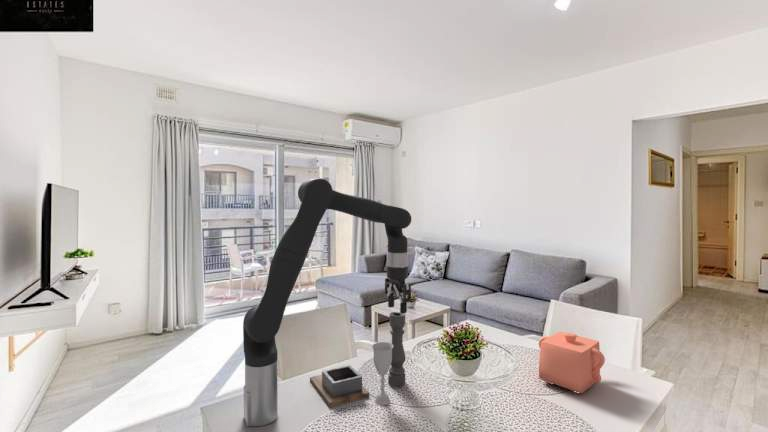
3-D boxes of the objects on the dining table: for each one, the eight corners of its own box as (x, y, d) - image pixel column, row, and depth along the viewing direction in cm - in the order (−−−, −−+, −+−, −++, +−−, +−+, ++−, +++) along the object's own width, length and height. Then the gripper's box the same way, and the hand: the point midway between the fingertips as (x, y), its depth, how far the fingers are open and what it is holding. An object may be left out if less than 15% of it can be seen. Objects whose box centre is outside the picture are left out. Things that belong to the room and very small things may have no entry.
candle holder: (404, 388, 132) (404, 317, 131) (386, 386, 133) (387, 316, 132) (406, 380, 138) (407, 312, 137) (389, 378, 139) (390, 311, 138)
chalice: (380, 393, 128) (380, 340, 128) (397, 399, 124) (397, 345, 124) (367, 402, 122) (367, 347, 122) (384, 408, 118) (384, 352, 118)
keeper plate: (329, 407, 119) (329, 402, 119) (309, 381, 137) (309, 377, 136) (369, 396, 126) (369, 392, 126) (345, 373, 143) (345, 369, 143)
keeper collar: (332, 398, 121) (332, 383, 121) (321, 385, 131) (322, 370, 130) (362, 391, 126) (362, 376, 126) (349, 378, 136) (349, 365, 135)
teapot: (556, 361, 156) (557, 318, 156) (618, 380, 139) (619, 332, 139) (527, 379, 139) (528, 331, 139) (594, 403, 123) (595, 349, 122)
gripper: (378, 262, 139) (378, 306, 139) (398, 268, 126) (398, 316, 127) (396, 261, 142) (396, 304, 143) (417, 266, 130) (417, 313, 130)
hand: (397, 309), depth 135 cm, fingers open, 8 cm apart
